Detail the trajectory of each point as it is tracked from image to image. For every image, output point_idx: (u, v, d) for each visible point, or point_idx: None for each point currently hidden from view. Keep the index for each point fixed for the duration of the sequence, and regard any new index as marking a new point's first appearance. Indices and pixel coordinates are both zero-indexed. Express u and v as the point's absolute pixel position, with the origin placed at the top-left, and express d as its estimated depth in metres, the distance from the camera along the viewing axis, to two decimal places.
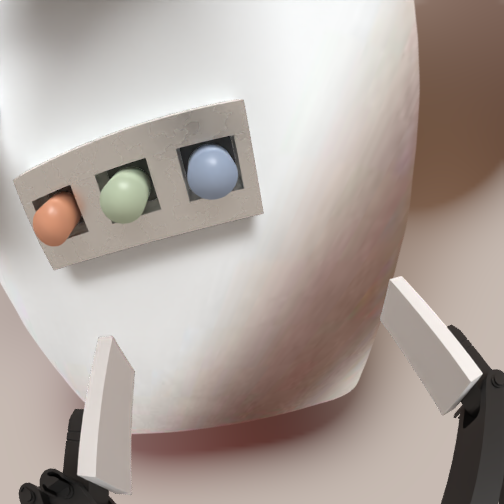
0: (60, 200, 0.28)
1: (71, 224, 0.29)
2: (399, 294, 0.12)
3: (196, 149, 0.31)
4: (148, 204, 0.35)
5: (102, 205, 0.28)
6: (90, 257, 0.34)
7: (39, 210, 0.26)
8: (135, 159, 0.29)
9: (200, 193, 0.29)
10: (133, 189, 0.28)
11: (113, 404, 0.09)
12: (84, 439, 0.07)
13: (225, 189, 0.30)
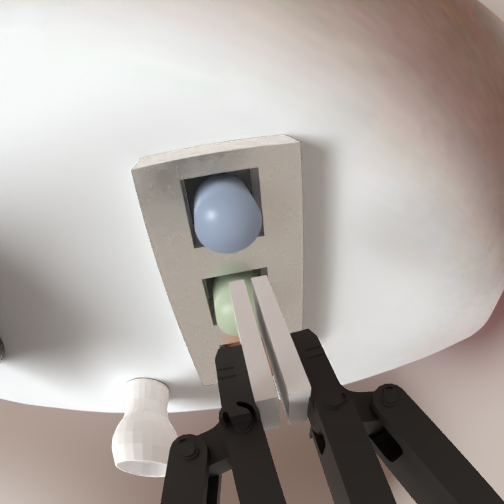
0: None
1: None
2: (255, 292, 0.13)
3: None
4: None
5: None
6: None
7: None
8: (202, 288, 0.28)
9: (249, 239, 0.23)
10: (231, 307, 0.26)
11: None
12: (252, 366, 0.10)
13: (250, 208, 0.22)
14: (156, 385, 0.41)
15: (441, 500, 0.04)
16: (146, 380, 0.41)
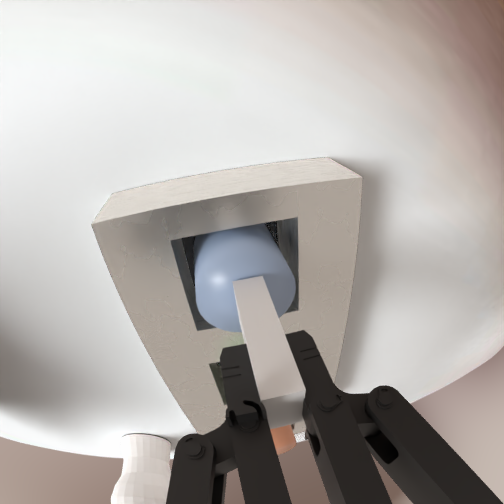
0: None
1: (278, 432, 0.24)
2: (251, 293, 0.13)
3: None
4: None
5: None
6: None
7: None
8: (209, 373, 0.20)
9: None
10: None
11: None
12: (258, 365, 0.10)
13: (280, 274, 0.14)
14: (156, 441, 0.32)
15: (438, 501, 0.04)
16: (144, 436, 0.32)
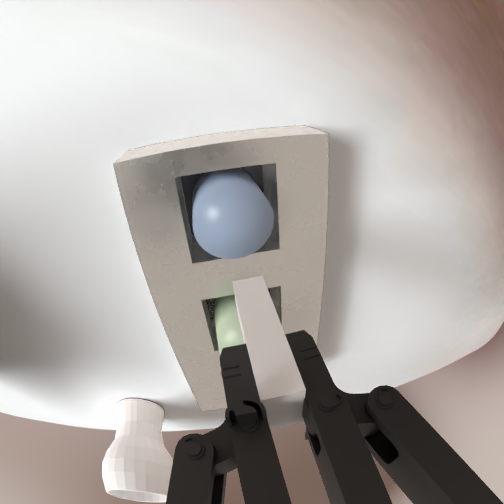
0: None
1: None
2: (251, 293, 0.13)
3: None
4: None
5: None
6: None
7: None
8: (201, 311, 0.23)
9: (258, 242, 0.19)
10: (238, 335, 0.21)
11: None
12: (257, 365, 0.10)
13: (260, 205, 0.18)
14: (149, 406, 0.36)
15: (438, 502, 0.04)
16: (138, 401, 0.35)
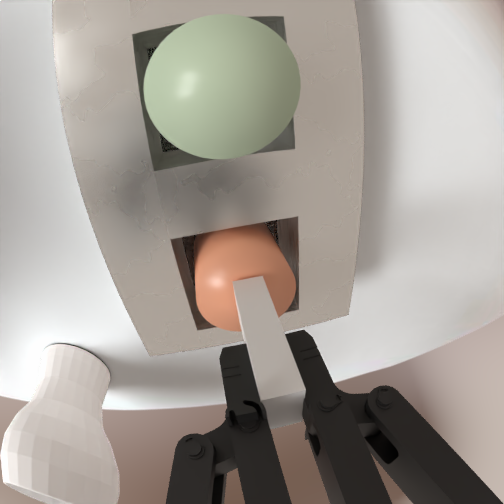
0: (199, 255, 0.15)
1: (257, 242, 0.14)
2: (251, 293, 0.13)
3: None
4: None
5: (224, 151, 0.09)
6: (356, 230, 0.16)
7: (203, 311, 0.15)
8: (131, 58, 0.09)
9: None
10: (190, 42, 0.07)
11: None
12: (258, 365, 0.10)
13: None
14: (82, 358, 0.22)
15: (438, 502, 0.04)
16: (67, 347, 0.21)
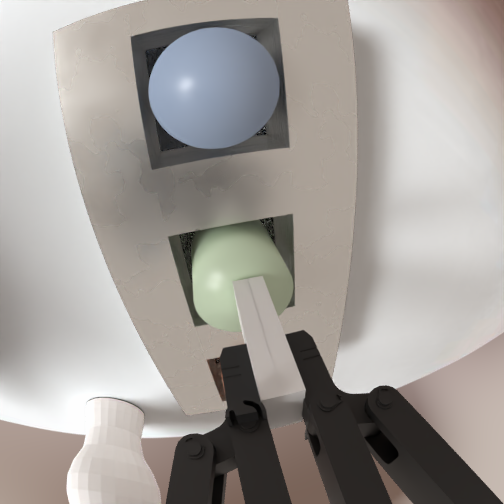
0: None
1: None
2: (251, 293, 0.13)
3: None
4: (278, 223, 0.19)
5: None
6: (336, 341, 0.21)
7: None
8: (170, 256, 0.15)
9: (256, 120, 0.11)
10: (222, 274, 0.14)
11: None
12: (258, 365, 0.10)
13: (257, 59, 0.10)
14: (124, 408, 0.27)
15: (438, 502, 0.04)
16: (110, 401, 0.27)
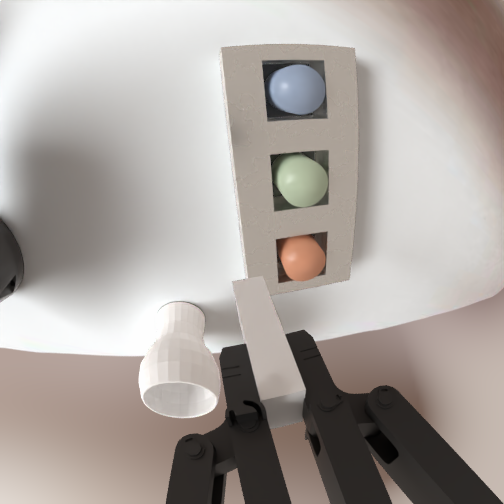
0: (284, 246, 0.36)
1: (310, 241, 0.34)
2: (251, 293, 0.13)
3: (268, 100, 0.28)
4: (318, 161, 0.33)
5: (303, 204, 0.31)
6: (352, 237, 0.35)
7: (286, 270, 0.35)
8: (269, 165, 0.29)
9: (315, 104, 0.25)
10: (296, 170, 0.29)
11: None
12: (257, 365, 0.10)
13: (317, 79, 0.24)
14: (193, 309, 0.42)
15: (438, 502, 0.04)
16: (183, 303, 0.42)
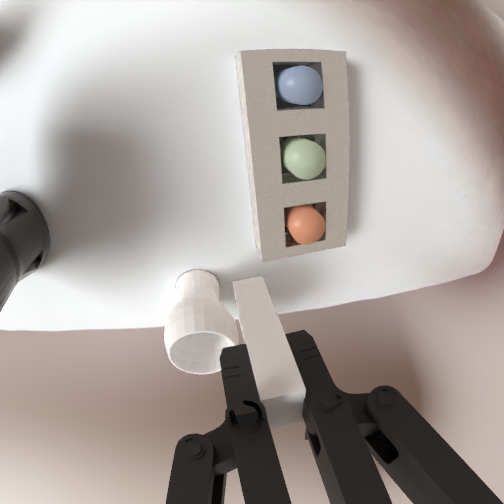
0: (290, 214, 0.42)
1: (312, 209, 0.41)
2: (251, 293, 0.13)
3: (276, 94, 0.34)
4: None
5: (306, 177, 0.37)
6: (347, 207, 0.42)
7: (293, 234, 0.41)
8: (278, 145, 0.35)
9: (315, 97, 0.31)
10: (300, 149, 0.35)
11: None
12: (257, 365, 0.10)
13: (316, 77, 0.30)
14: (210, 276, 0.48)
15: (438, 502, 0.04)
16: (200, 271, 0.48)
